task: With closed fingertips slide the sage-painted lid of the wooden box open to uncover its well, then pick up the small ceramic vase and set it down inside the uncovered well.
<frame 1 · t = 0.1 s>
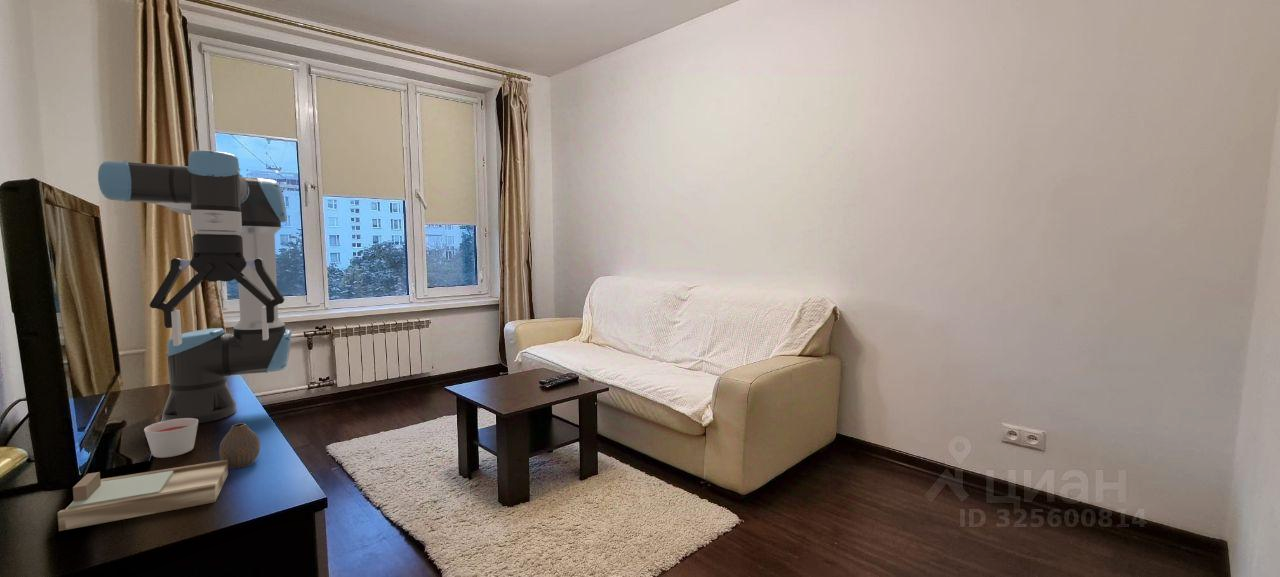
hand: (223, 341, 101), 28 cm above the table, fingers open, 13 cm apart
vase: (240, 465, 110), on the table
wooden box: (153, 499, 95), on the table
candle: (173, 452, 116), on the table
lid: (124, 482, 92), point 4 cm above the table, slide at 0.0 cm
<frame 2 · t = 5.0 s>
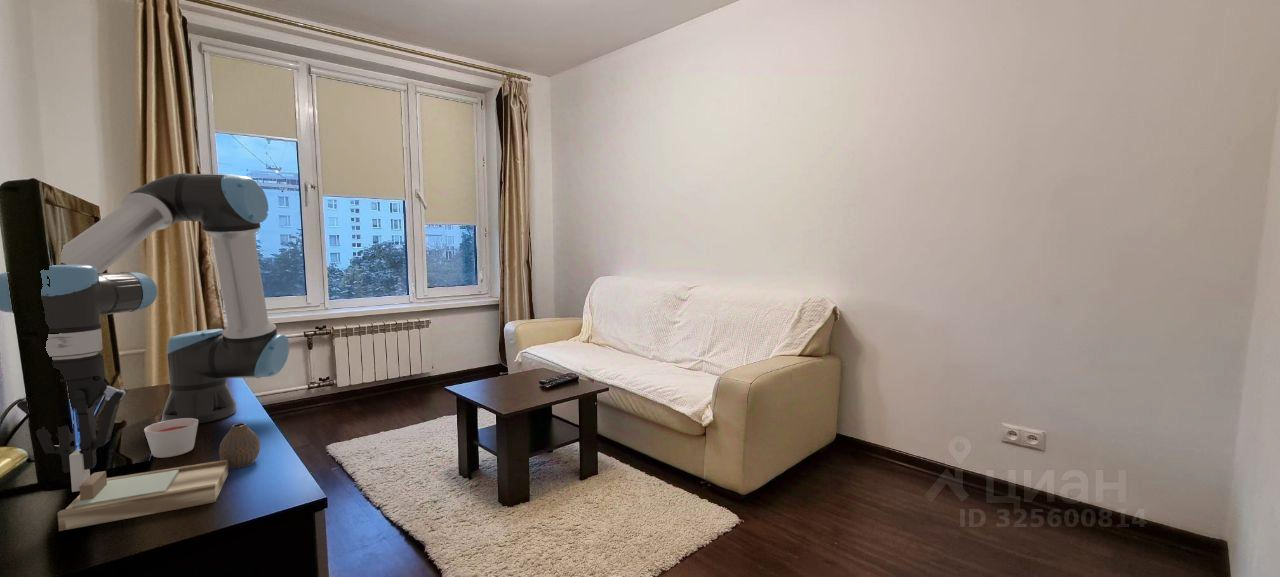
hand: (81, 487, 90), 4 cm above the table, fingers closed
lid: (130, 481, 93), point 4 cm above the table, slide at 0.8 cm, touching gripper
everything else where it was.
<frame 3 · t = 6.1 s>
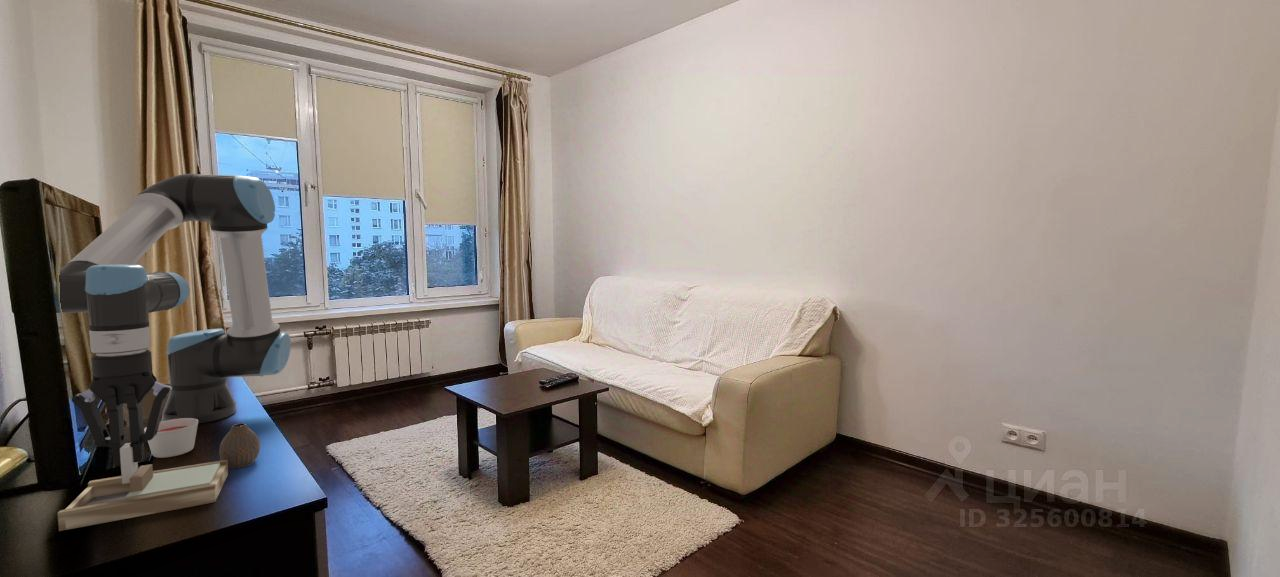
hand: (130, 479, 93), 4 cm above the table, fingers closed
lid: (175, 473, 96), point 4 cm above the table, slide at 7.1 cm, touching gripper
everything else where it was.
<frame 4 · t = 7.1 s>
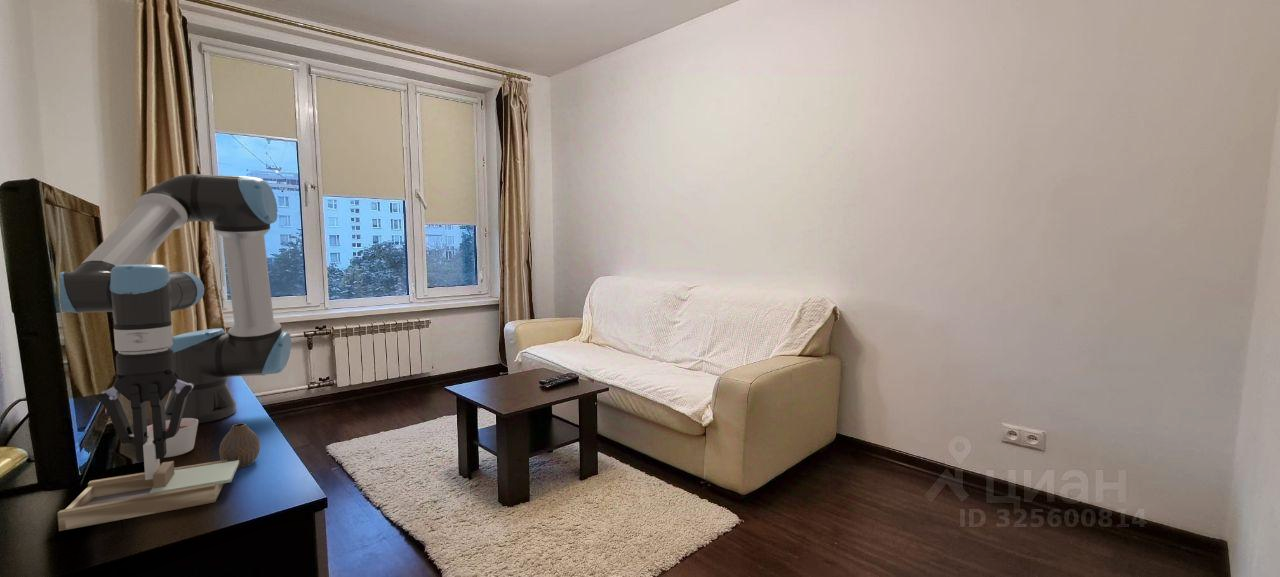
hand: (153, 476, 94), 4 cm above the table, fingers closed
lid: (197, 470, 98), point 4 cm above the table, slide at 10.1 cm, touching gripper
everything else where it was.
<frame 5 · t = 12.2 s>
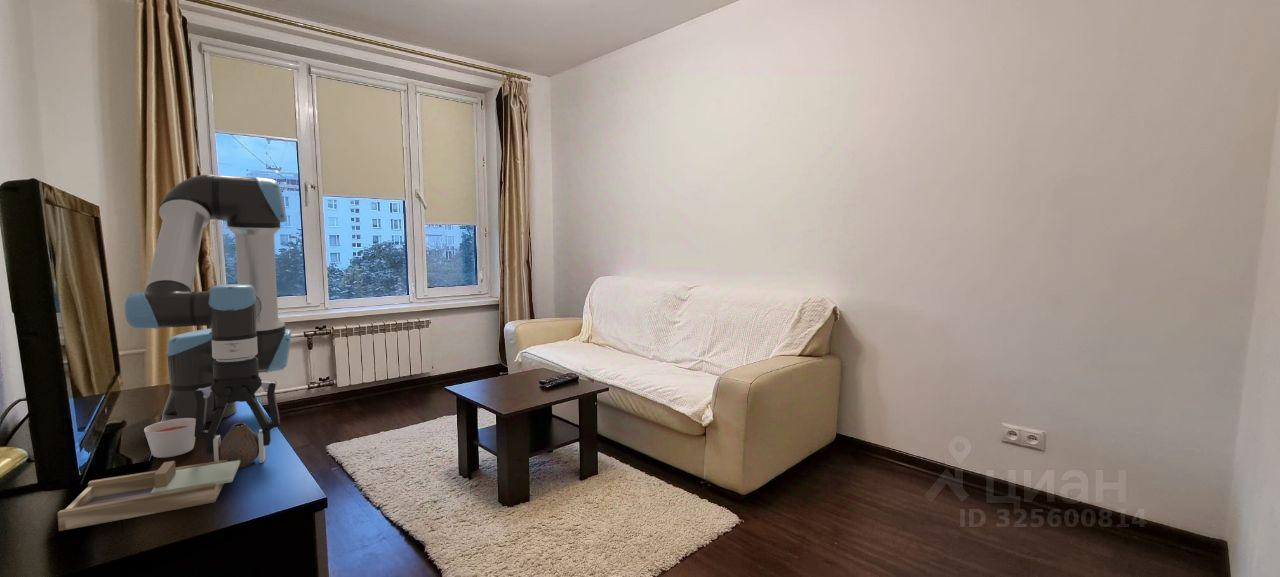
hand: (240, 463, 110), 0 cm above the table, fingers closed on vase, 7 cm apart
vase: (240, 465, 110), on the table, touching gripper
lid: (198, 470, 98), point 4 cm above the table, slide at 10.3 cm
everything else where it was.
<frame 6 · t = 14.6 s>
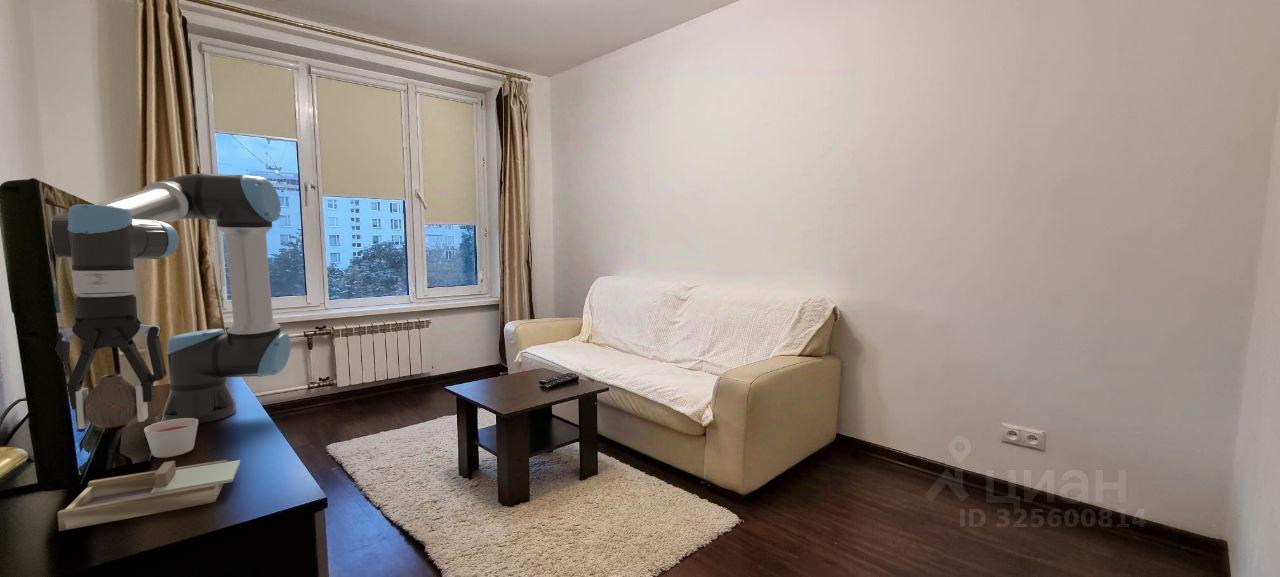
hand: (114, 422, 91), 15 cm above the table, fingers closed on vase, 7 cm apart
vase: (114, 425, 91), point 15 cm above the table, touching gripper
everything else where it was.
when the fingers open (3 cm above the table, at t = 17.2 s): vase drops 3 cm, resting on wooden box.
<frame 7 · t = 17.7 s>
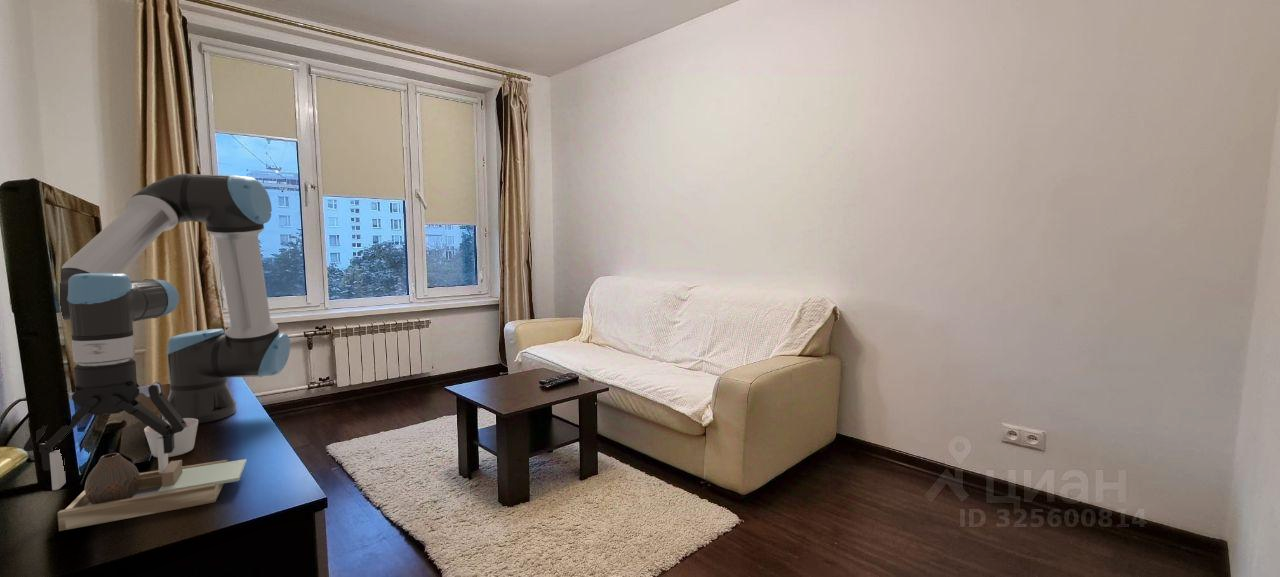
hand: (113, 478, 92), 5 cm above the table, fingers open, 13 cm apart
vase: (115, 503, 92), resting on wooden box
lid: (205, 469, 98), point 4 cm above the table, slide at 11.3 cm
everything else where it was.
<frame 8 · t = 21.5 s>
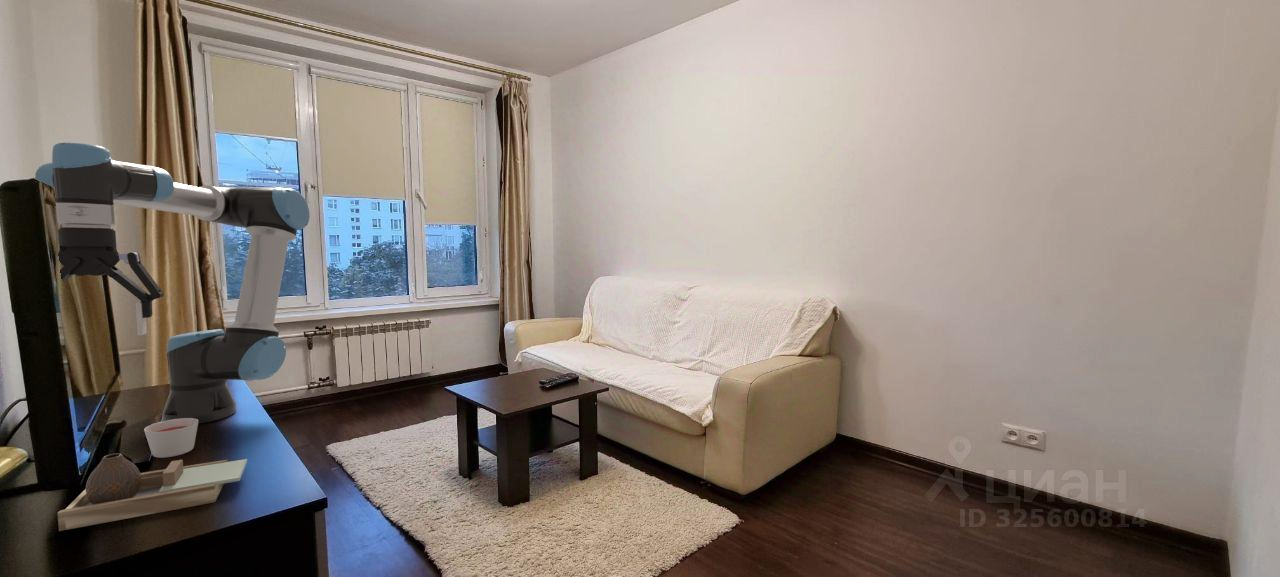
hand: (95, 336, 100), 29 cm above the table, fingers open, 13 cm apart
nothing on the table moved.
at the end: lid slide at 11.4 cm; vase inside the target area on the wooden box (1.3 cm from its centre), point 0.3 cm above the wooden box's base; vase tilted 0° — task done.
